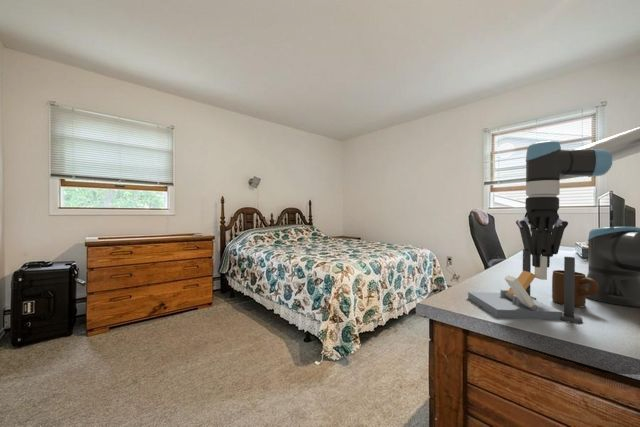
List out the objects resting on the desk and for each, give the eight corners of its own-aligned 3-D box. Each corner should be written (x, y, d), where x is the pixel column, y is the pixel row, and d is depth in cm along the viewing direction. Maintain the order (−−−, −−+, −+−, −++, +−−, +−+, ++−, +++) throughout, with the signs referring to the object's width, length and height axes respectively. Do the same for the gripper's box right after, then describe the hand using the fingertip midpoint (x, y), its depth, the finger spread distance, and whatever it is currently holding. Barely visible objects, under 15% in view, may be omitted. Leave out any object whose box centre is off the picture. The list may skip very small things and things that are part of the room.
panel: (520, 299, 85) (520, 287, 85) (562, 319, 69) (562, 304, 69) (468, 298, 86) (468, 285, 86) (497, 317, 70) (497, 301, 70)
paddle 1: (508, 298, 81) (527, 273, 80) (516, 302, 77) (536, 276, 77) (503, 295, 81) (523, 270, 80) (511, 299, 77) (531, 272, 77)
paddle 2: (529, 304, 73) (508, 275, 73) (539, 308, 69) (517, 278, 70) (524, 307, 73) (503, 278, 74) (533, 312, 70) (512, 281, 70)
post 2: (571, 315, 72) (571, 256, 72) (588, 323, 67) (588, 259, 67) (551, 315, 72) (551, 255, 72) (566, 322, 67) (567, 258, 67)
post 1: (529, 297, 88) (529, 248, 88) (540, 302, 83) (540, 250, 83) (512, 296, 88) (513, 248, 88) (523, 301, 83) (523, 250, 83)
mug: (610, 313, 75) (610, 279, 75) (584, 313, 74) (584, 279, 74) (567, 299, 87) (568, 270, 87) (545, 299, 86) (545, 270, 86)
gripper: (555, 197, 81) (554, 276, 81) (510, 197, 82) (508, 274, 82) (577, 196, 74) (576, 282, 74) (527, 195, 75) (525, 280, 75)
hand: (540, 278), depth 78 cm, fingers closed
